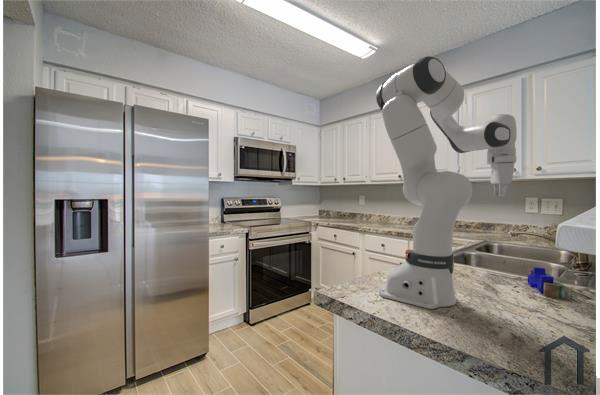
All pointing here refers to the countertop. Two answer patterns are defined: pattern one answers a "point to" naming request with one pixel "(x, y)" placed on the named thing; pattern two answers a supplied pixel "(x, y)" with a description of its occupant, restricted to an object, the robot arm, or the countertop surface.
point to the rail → (552, 287)
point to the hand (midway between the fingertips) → (499, 195)
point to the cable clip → (539, 279)
